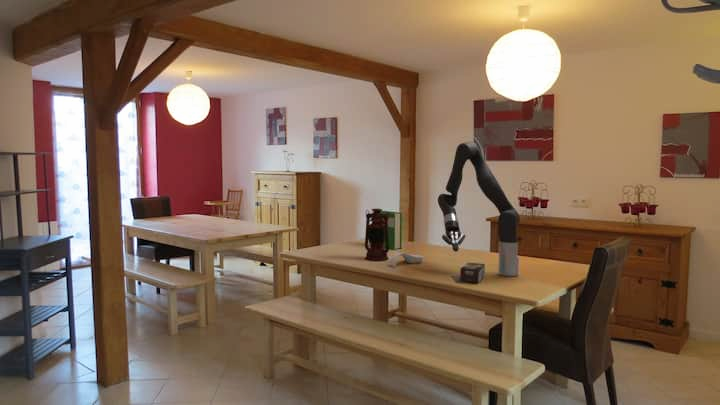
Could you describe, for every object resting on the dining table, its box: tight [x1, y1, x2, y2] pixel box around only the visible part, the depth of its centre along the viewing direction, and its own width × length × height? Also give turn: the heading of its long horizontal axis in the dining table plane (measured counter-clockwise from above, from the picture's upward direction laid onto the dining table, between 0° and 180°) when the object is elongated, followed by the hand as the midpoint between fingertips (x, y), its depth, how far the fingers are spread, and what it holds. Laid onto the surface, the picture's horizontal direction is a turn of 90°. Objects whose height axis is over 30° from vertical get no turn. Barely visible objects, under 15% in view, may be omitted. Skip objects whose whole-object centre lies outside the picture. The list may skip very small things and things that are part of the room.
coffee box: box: [459, 261, 486, 283], centre depth 247 cm, size 9×6×16 cm
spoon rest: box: [389, 252, 425, 268], centre depth 284 cm, size 24×12×7 cm, turn 133°
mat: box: [450, 274, 482, 283], centre depth 248 cm, size 12×12×1 cm
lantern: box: [364, 208, 390, 262], centre depth 295 cm, size 17×14×30 cm
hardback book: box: [380, 210, 403, 251], centre depth 332 cm, size 18×7×24 cm, turn 44°
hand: (456, 250), depth 259 cm, fingers closed
